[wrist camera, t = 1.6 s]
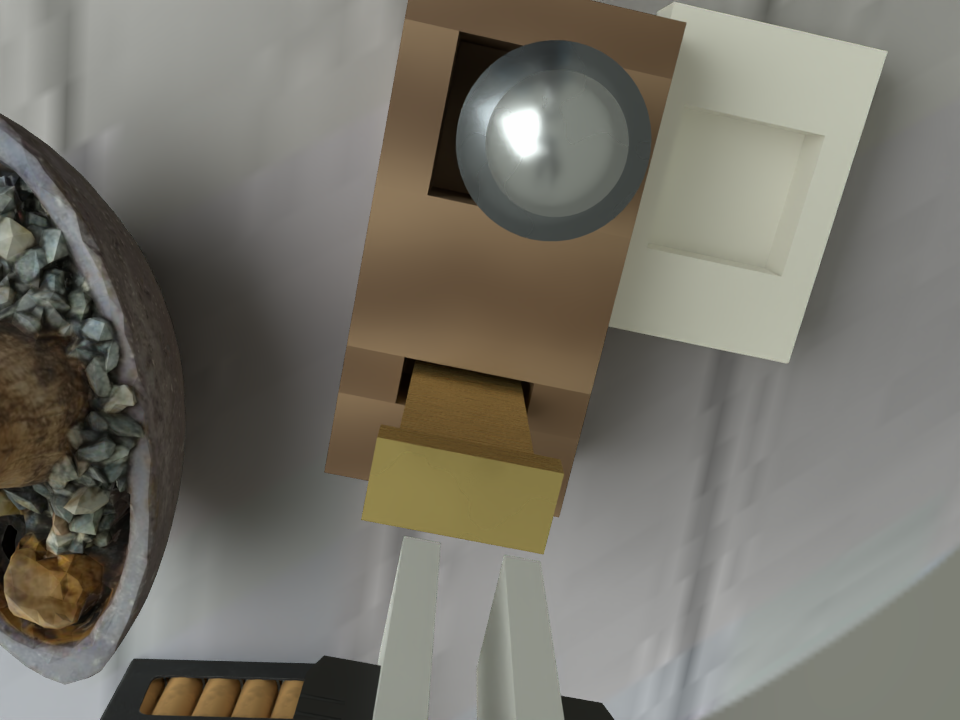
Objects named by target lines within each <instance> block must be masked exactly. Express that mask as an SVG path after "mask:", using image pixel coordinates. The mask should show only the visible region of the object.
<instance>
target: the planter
mask: <svg viewBox="0 0 960 720" xmlns="http://www.w3.org/2000/svg"><path fill="white" fill-rule="evenodd" d="M184 449H185V400H184V380H183V373H182V367H181V360H180V352H179V348H178V344H177V340H176V336H175V332H174V328H173V324H172V321H171V319H170V316H169V313H168V310H167V307H166V304H165V301H164V298H163V296H162V293H161V290H160V288H159V286H158V284H157V282H156V280H155V278H154V276H153V273H152V271H151V269H150V267H149V265H148V263H147V261H146V259H145V257H144V255H143V254H142V252H141V250H140V248H139V247H138V245H137V244H136V242H135V241H134V239H133V238H132V236H131V235H130V234H129V232H128V231H127V229H126V228H125V227H124V225H123V224H122V222H121V221H120V220H119V218H118V217H117V216H116V214H115V213H114V212H113V211H112V209H111V208H110V207H109V206H108V205H107V203H106V202H105V201H104V200H103V199H102V198H101V196H100V195H99V194H98V193H97V192H96V190H95V189H94V188H93V187H92V186H91V184H90V183H89V182H88V181H87V180H86V179H85V178H84V177H83V176H82V175H81V174H80V173H79V172H78V171H77V170H76V169H75V168H74V167H73V166H71V165H70V164H69V163H68V162H67V161H66V160H65V159H64V158H62V157H61V156H60V155H59V154H58V153H57V152H56V151H54V150H53V149H52V148H51V147H50V146H49V145H47V144H46V143H44V142H43V141H42V140H40V139H39V138H37V137H36V136H35V135H33V134H32V133H30V132H29V131H28V130H26V129H25V128H24V127H22V126H21V125H19V124H17V123H16V122H14V121H12V120H11V119H9V118H7V117H5V116H4V115H2V114H0V645H1V646H2V647H3V648H5V649H6V650H7V651H8V652H9V653H11V654H12V655H13V656H14V657H15V658H16V659H18V660H19V661H20V662H21V663H22V664H24V665H25V666H26V667H28V668H30V669H32V670H34V671H35V672H37V673H39V674H41V675H42V676H44V677H46V678H49V679H52V680H54V681H57V682H60V683H62V684H68V683H72V682H75V681H79V680H82V679H86V678H89V677H91V676H93V675H95V674H96V673H98V672H100V671H101V670H102V669H103V667H104V666H105V665H106V663H107V662H108V661H109V659H110V658H111V657H112V655H113V654H114V653H115V651H116V650H117V648H118V647H119V645H120V644H121V642H122V641H123V639H124V638H125V636H126V634H127V633H128V631H129V629H130V628H131V626H132V624H133V623H134V621H135V619H136V618H137V616H138V614H139V613H140V611H141V609H142V607H143V605H144V603H145V601H146V599H147V597H148V594H149V592H150V590H151V587H152V585H153V582H154V579H155V577H156V575H157V572H158V569H159V566H160V563H161V560H162V557H163V554H164V551H165V548H166V545H167V542H168V538H169V534H170V530H171V526H172V522H173V518H174V513H175V509H176V504H177V500H178V495H179V488H180V481H181V474H182V467H183V461H184Z"/></svg>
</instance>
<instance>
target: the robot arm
mask: <svg viewBox="0 0 960 720" xmlns="http://www.w3.org/2000/svg"><path fill="white" fill-rule="evenodd" d="M440 544H441V543H439V542H433V541H428V540H423V539H417V538H412V537H407V536H404V538H403V543H402V548H401V553H400V558H399V562H398V567H397V572H396V577H395V582H394V586H393V591H392V596H391V601H390V606H389V610H388V615H387V620H386V625H385V630H384V634H383V639H382V644H381V649H380V654H379V660H378V665H374V664H368V663H363V662H357V661H352V660H346V659H340V658H335V657H329V656H323V657H322V658H321V659H320V660H319V661H318V662H317V663H316V664H315V665H314V666H313V667H312V668H310V669H309V670H308V671H307V673H306V676H305V679H304V683H303V686H302V690H301V693H300V697H299V700H298V703H297V706H296V710H295V714H294V716H293V720H428V706H429V693H430V679H431V666H432V652H433V639H434V625H435V612H436V598H437V585H438V571H439V558H440ZM477 720H614V719H613V717H612V716H611V714H610V713H609V712H608V710H607V709H606V708H605V706H604V705H603V704H602V703H599V702H593V701H587V700H582V699H576V698H571V697H565V696H561V694H560V688H559V681H558V675H557V668H556V661H555V655H554V648H553V642H552V635H551V629H550V622H549V615H548V609H547V602H546V596H545V589H544V583H543V576H542V570H541V563H540V561H534V560H529V559H524V558H518V557H513V556H508V555H504V558H503V562H502V566H501V570H500V574H499V578H498V583H497V587H496V591H495V595H494V599H493V603H492V607H491V611H490V615H489V620H488V624H487V628H486V632H485V636H484V640H483V644H482V648H481V652H480V657H479V661H478V665H477Z"/></svg>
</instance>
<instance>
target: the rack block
mask: <svg viewBox="0 0 960 720" xmlns="http://www.w3.org/2000/svg"><path fill="white" fill-rule="evenodd" d="M656 16H661V17H665V18H669V19H673V20H678V21H682V22H686V23H687V24H686V27H685V31H684V35H683V39H682V43H681V47H680V51H679V55H678V58H677V62H676V66H675V70H674V74H673V78H672V82H671V86H670V89H669V93H668V97H667V101H666V105H665V109H664V113H663V116H662V120H661V124H660V128H659V132H658V136H657V140H656V144H655V147H654V151H653V155H652V159H651V163H650V167H649V171H648V175H647V178H646V182H645V186H644V190H643V194H642V198H641V202H640V206H639V209H638V213H637V217H636V221H635V225H634V229H633V233H632V236H631V240H630V244H629V248H628V252H627V256H626V260H625V264H624V267H623V271H622V275H621V279H620V283H619V287H618V291H617V295H616V298H615V302H614V306H613V310H612V314H611V318H610V322H609V326H608V327H613V328H618V329H623V330H627V331H632V332H637V333H642V334H647V335H652V336H656V337H661V338H666V339H671V340H676V341H681V342H685V343H690V344H695V345H700V346H705V347H710V348H714V349H719V350H724V351H729V352H734V353H739V354H743V355H748V356H753V357H758V358H763V359H768V360H772V361H777V362H782V363H787V364H788V363H789V360H790V357H791V354H792V351H793V348H794V344H795V341H796V338H797V335H798V332H799V329H800V326H801V322H802V319H803V316H804V313H805V310H806V307H807V304H808V300H809V297H810V294H811V291H812V288H813V285H814V282H815V278H816V275H817V272H818V269H819V266H820V263H821V260H822V256H823V253H824V250H825V247H826V244H827V241H828V238H829V234H830V231H831V228H832V225H833V222H834V219H835V216H836V212H837V209H838V206H839V203H840V200H841V197H842V194H843V190H844V187H845V184H846V181H847V178H848V175H849V172H850V168H851V165H852V162H853V159H854V156H855V153H856V150H857V146H858V143H859V140H860V137H861V134H862V131H863V128H864V124H865V121H866V118H867V115H868V112H869V109H870V106H871V102H872V99H873V96H874V93H875V90H876V87H877V84H878V80H879V77H880V74H881V71H882V68H883V65H884V62H885V58H886V55H887V52H888V51H884V50H880V49H875V48H871V47H867V46H862V45H858V44H854V43H850V42H845V41H841V40H837V39H832V38H828V37H824V36H819V35H815V34H811V33H807V32H802V31H798V30H794V29H789V28H785V27H781V26H776V25H772V24H768V23H764V22H759V21H755V20H751V19H746V18H742V17H738V16H733V15H729V14H725V13H721V12H716V11H712V10H708V9H703V8H699V7H695V6H690V5H686V4H682V3H678V2H673V3H671V4H670V5H668V6H666V7H664V8H663V9H661V10H659V11H657V15H656Z"/></svg>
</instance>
